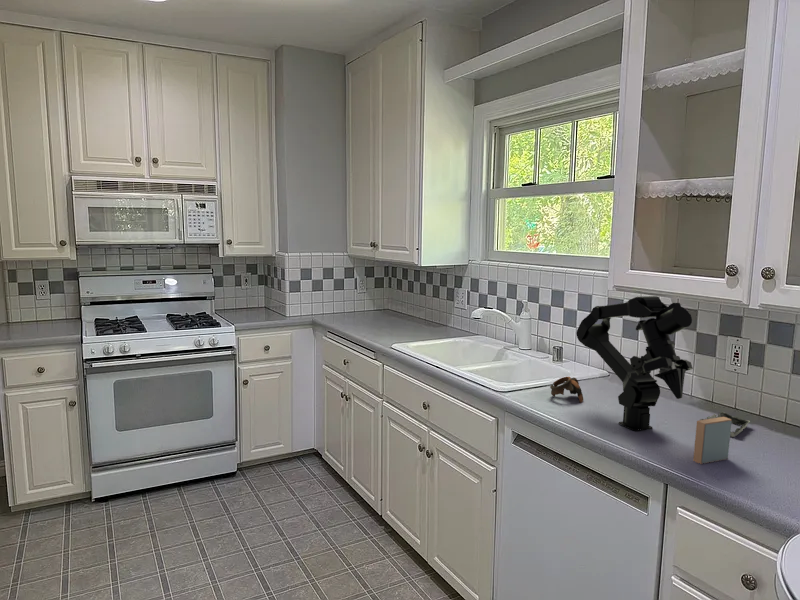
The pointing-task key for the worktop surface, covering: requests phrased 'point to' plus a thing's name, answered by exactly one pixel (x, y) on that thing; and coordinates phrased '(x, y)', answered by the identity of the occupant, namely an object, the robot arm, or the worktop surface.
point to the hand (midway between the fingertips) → (679, 398)
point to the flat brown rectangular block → (712, 440)
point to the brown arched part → (567, 387)
